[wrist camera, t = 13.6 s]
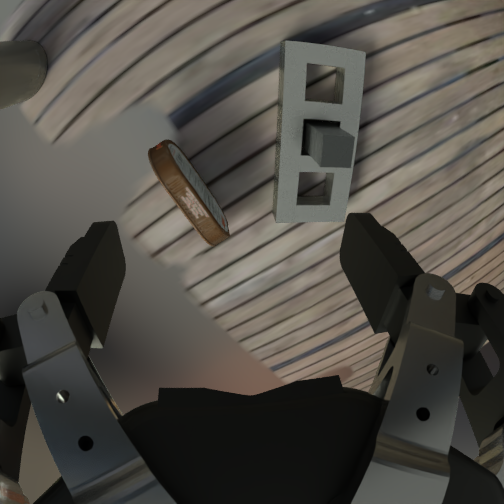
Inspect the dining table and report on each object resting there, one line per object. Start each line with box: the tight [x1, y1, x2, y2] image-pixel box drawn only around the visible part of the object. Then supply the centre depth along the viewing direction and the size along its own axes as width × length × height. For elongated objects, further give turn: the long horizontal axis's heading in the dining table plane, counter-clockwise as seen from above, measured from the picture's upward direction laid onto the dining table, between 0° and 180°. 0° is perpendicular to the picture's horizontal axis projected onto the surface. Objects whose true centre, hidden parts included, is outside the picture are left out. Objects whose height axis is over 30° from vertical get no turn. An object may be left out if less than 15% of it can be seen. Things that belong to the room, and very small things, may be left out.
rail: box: [272, 41, 366, 223], centre depth 36 cm, size 10×24×3 cm, turn 178°
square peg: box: [302, 119, 355, 168], centre depth 34 cm, size 4×4×9 cm
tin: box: [148, 140, 230, 246], centre depth 37 cm, size 15×3×8 cm, turn 29°
